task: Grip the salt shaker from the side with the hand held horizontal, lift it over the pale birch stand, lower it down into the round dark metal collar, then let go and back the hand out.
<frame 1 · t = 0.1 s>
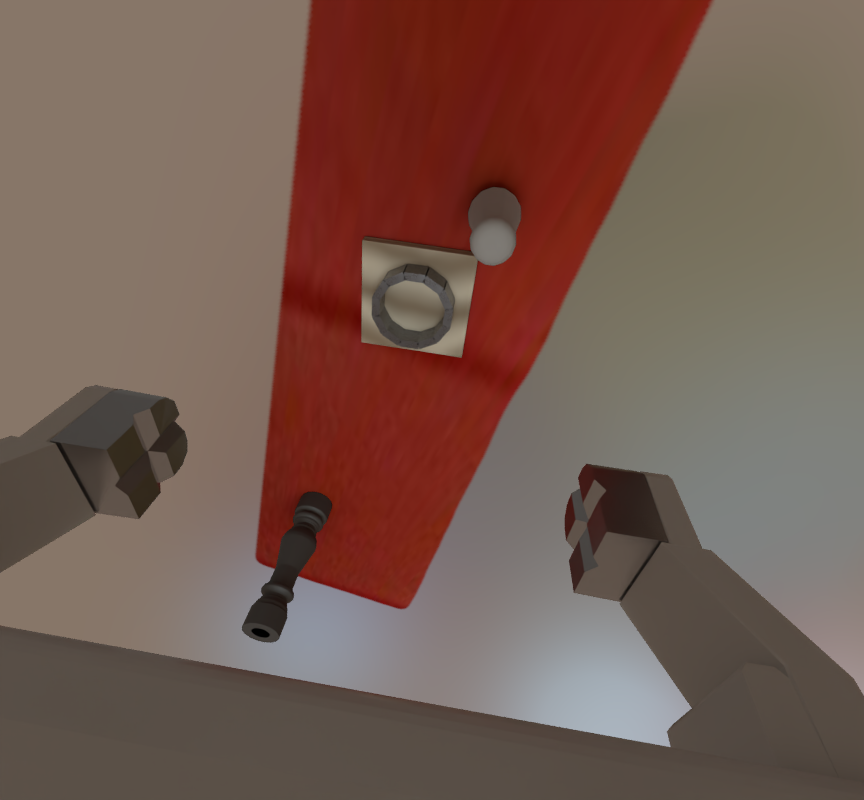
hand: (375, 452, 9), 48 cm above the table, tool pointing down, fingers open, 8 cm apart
salt shaker: (494, 210, 51), on the table
birch stand: (417, 298, 58), on the table
metal collar: (413, 307, 56), on the birch stand, point 3 cm above the table
candle holder: (316, 501, 86), on the table
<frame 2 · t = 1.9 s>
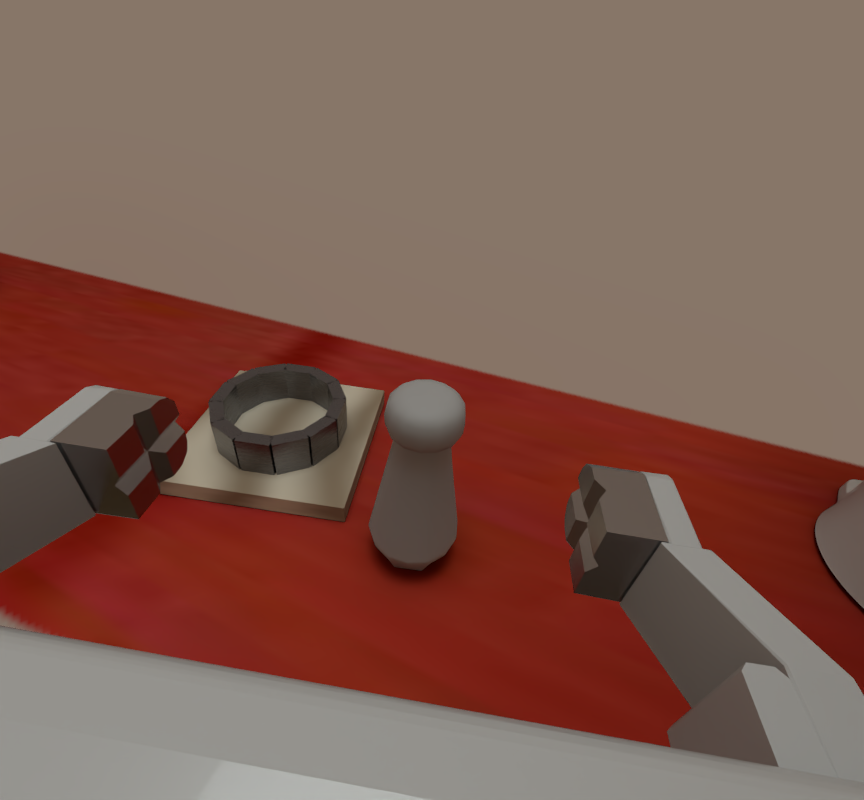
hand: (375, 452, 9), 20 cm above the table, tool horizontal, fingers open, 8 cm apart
salt shaker: (411, 546, 31), on the table
birch stand: (285, 441, 38), on the table
metal collar: (281, 414, 36), on the birch stand, point 3 cm above the table
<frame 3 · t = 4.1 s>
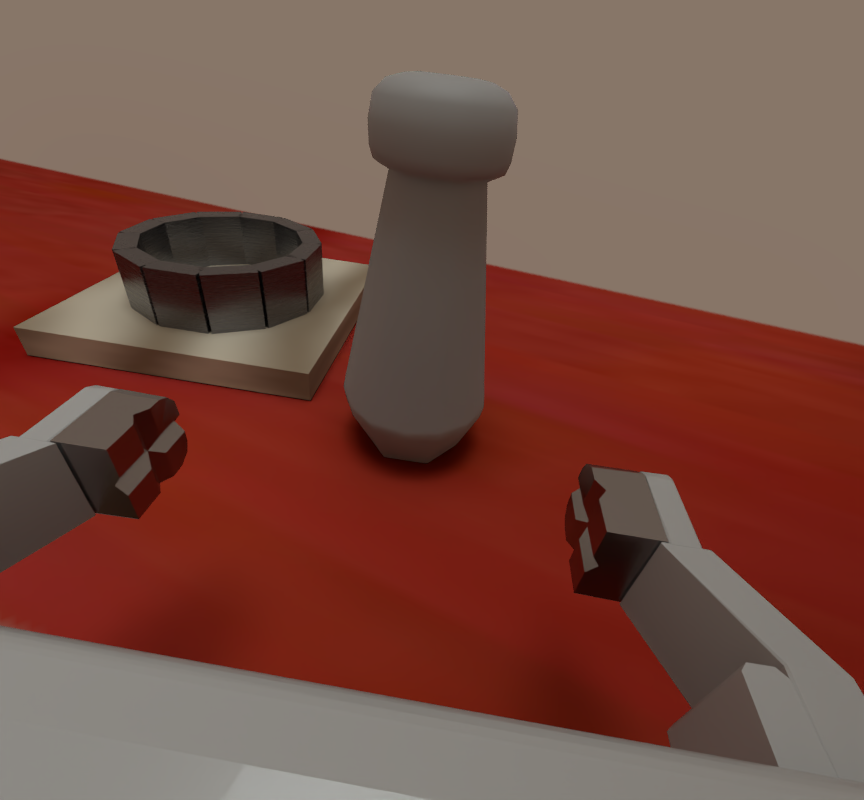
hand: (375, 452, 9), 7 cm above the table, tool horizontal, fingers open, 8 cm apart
salt shaker: (411, 434, 20), on the table
birch stand: (236, 313, 27), on the table
metal collar: (228, 265, 25), on the birch stand, point 2 cm above the table
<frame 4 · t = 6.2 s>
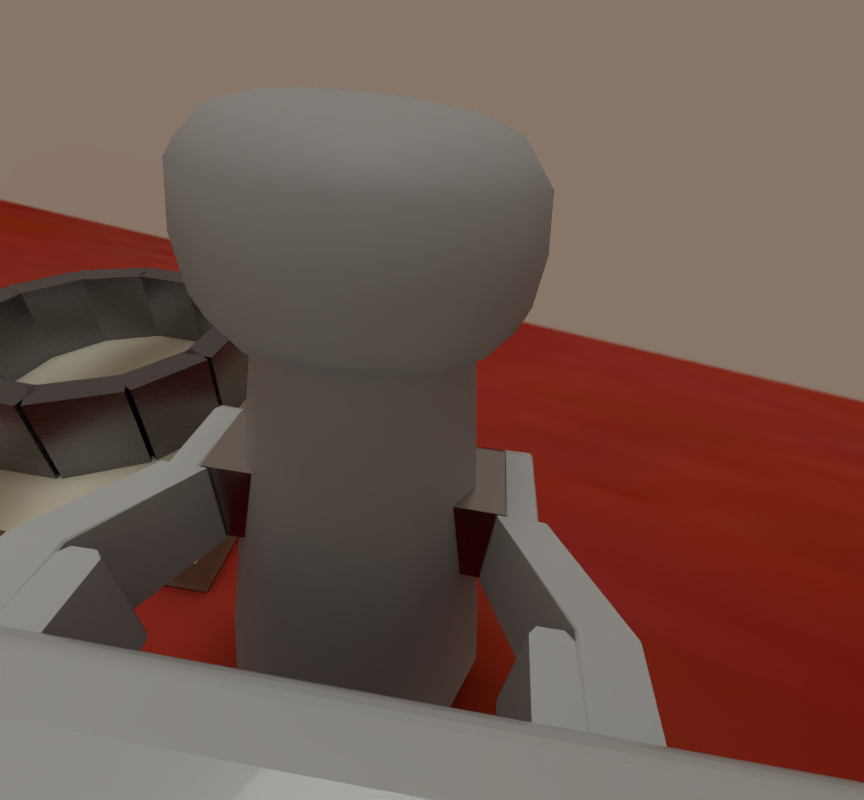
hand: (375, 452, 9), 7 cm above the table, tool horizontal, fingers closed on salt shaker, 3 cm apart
salt shaker: (361, 659, 13), on the table, touching gripper
birch stand: (134, 413, 19), on the table
metal collar: (111, 354, 17), on the birch stand, point 2 cm above the table
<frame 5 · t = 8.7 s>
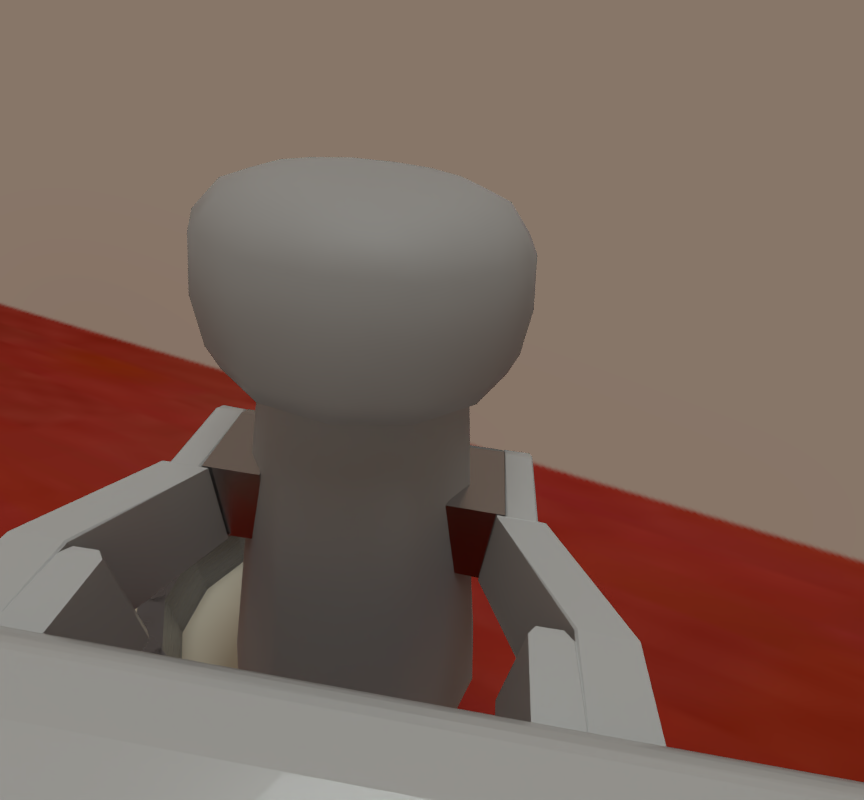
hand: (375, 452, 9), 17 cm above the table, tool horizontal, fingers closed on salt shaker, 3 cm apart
salt shaker: (359, 679, 13), point 9 cm above the table, touching gripper
birch stand: (279, 639, 22), on the table
metal collar: (272, 609, 20), on the birch stand, point 3 cm above the table
when the fingers open (10 cm above the table, at t = 11.2 s): salt shaker stays where it is, resting on birch stand.
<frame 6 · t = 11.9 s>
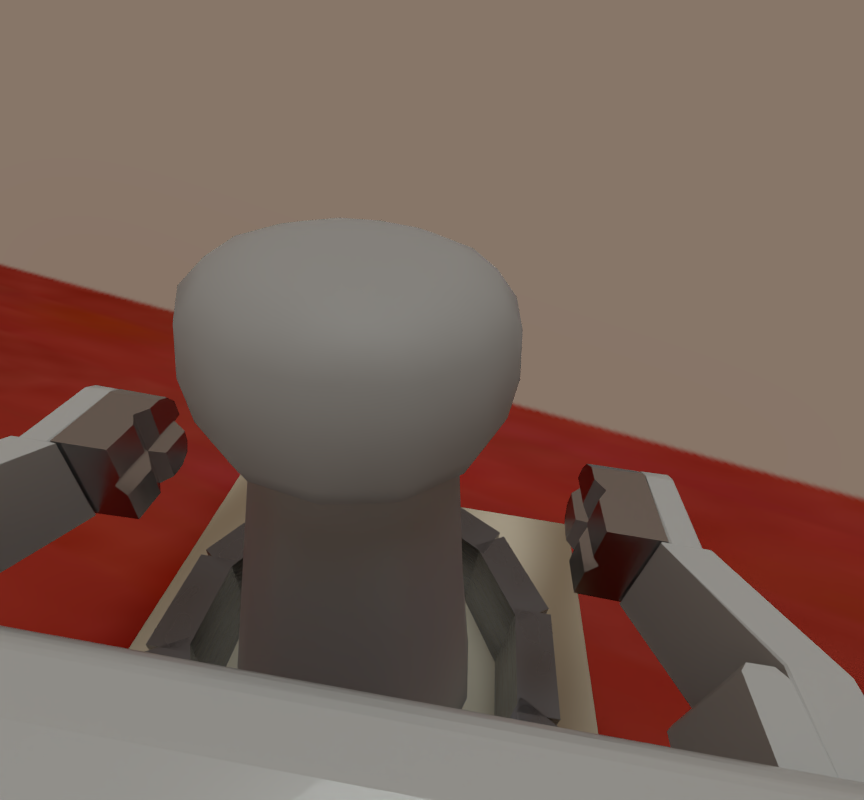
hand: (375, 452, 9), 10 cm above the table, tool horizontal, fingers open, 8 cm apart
salt shaker: (358, 693, 13), point 1 cm above the table, touching birch stand
birch stand: (361, 696, 14), on the table
metal collar: (362, 654, 12), on the birch stand, point 3 cm above the table
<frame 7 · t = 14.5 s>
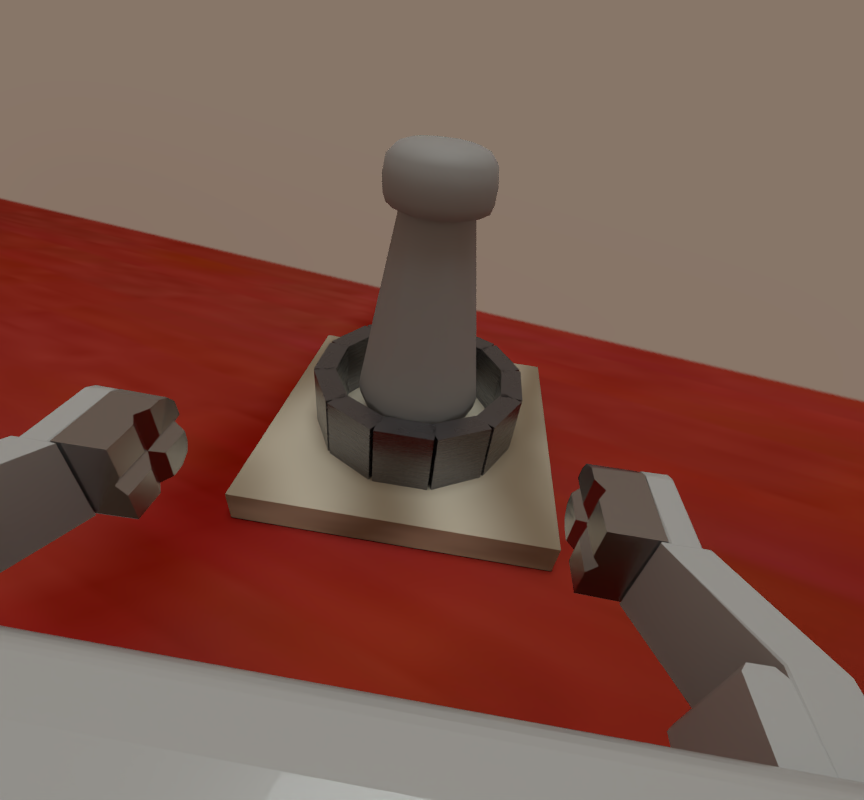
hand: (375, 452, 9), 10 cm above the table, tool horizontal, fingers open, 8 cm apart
salt shaker: (414, 423, 24), point 1 cm above the table, touching birch stand
birch stand: (414, 437, 25), on the table
metal collar: (418, 394, 23), on the birch stand, point 2 cm above the table
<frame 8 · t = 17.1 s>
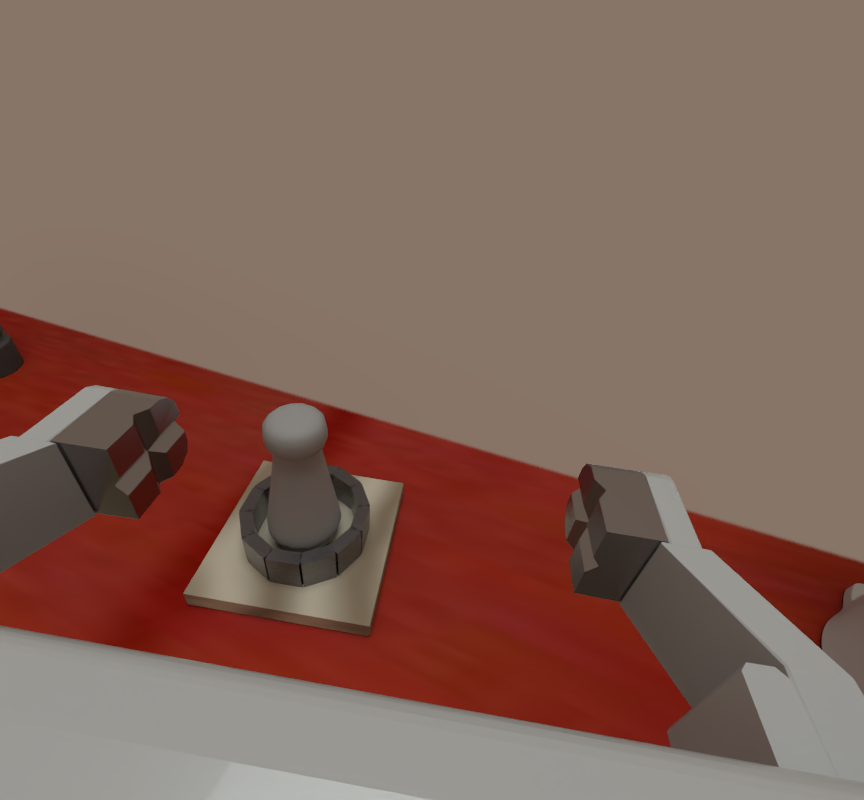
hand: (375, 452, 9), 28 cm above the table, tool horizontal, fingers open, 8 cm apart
salt shaker: (307, 536, 38), point 1 cm above the table, touching birch stand
birch stand: (309, 541, 39), on the table
metal collar: (307, 519, 37), on the birch stand, point 3 cm above the table
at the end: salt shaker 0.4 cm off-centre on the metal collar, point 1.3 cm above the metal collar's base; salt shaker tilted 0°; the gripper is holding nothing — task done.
